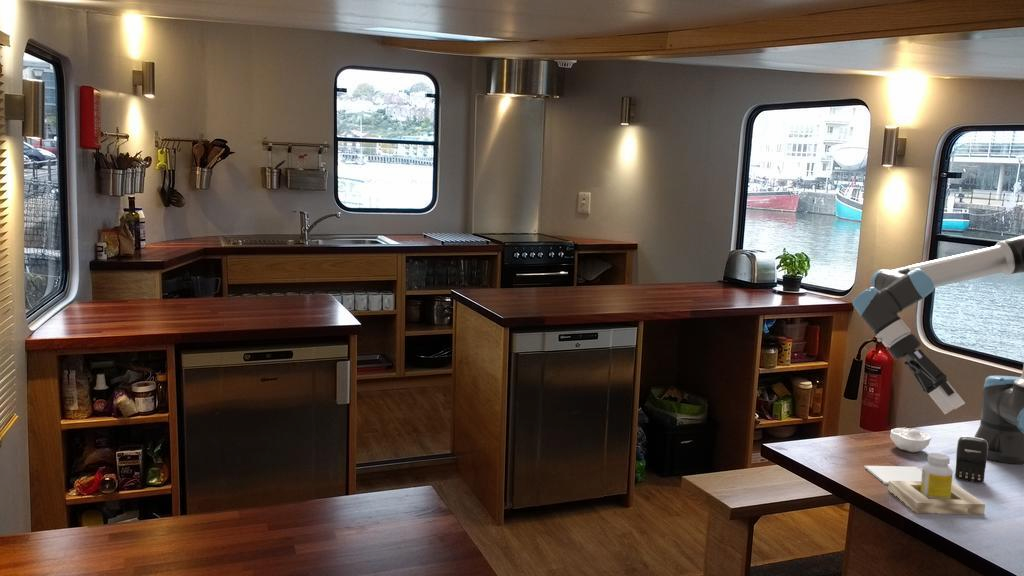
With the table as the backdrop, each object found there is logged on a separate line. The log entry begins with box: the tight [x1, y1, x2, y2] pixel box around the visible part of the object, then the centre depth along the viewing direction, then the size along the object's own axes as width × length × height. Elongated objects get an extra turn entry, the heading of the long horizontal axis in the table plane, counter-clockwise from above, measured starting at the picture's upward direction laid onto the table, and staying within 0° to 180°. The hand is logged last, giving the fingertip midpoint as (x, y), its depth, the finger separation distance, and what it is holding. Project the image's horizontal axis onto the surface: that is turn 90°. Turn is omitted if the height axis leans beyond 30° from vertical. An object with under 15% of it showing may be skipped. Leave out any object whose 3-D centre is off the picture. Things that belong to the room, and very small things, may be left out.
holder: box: [887, 481, 986, 515], centre depth 195 cm, size 16×14×2 cm
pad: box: [863, 465, 922, 485], centre depth 212 cm, size 14×12×1 cm
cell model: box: [889, 427, 933, 453], centre depth 234 cm, size 10×12×7 cm
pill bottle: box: [920, 452, 954, 499], centre depth 194 cm, size 6×6×12 cm
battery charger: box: [954, 435, 988, 484], centre depth 209 cm, size 7×4×11 cm, turn 61°
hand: (955, 409), depth 204 cm, fingers open, 13 cm apart
